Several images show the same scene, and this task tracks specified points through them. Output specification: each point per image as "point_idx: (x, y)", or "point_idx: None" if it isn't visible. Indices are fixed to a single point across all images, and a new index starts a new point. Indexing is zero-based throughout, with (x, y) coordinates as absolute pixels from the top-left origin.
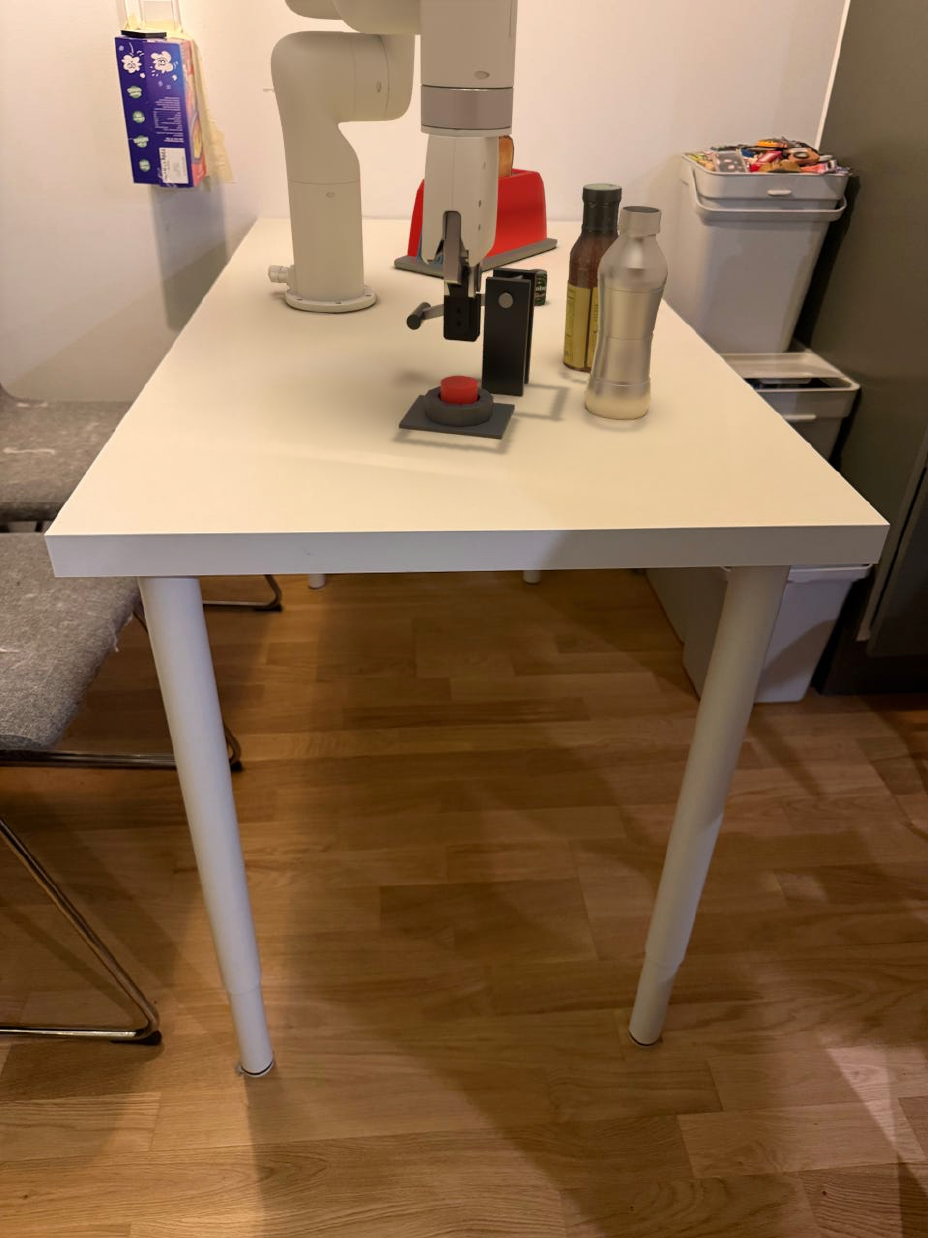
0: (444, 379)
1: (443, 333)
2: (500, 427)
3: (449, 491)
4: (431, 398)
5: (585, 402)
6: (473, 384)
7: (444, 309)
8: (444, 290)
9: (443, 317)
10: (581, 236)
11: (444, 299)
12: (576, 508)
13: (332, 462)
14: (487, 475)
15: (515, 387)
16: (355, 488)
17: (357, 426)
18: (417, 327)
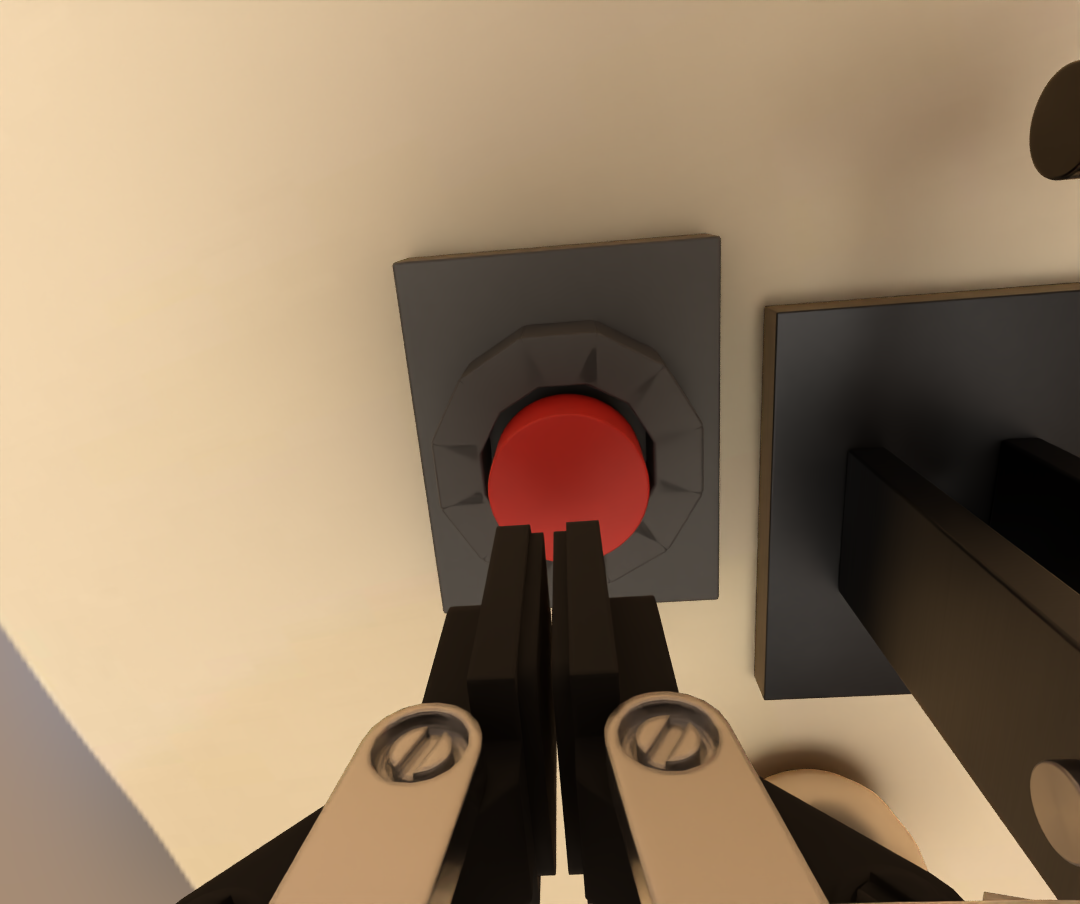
0: (575, 425)
1: (495, 534)
2: None
3: (145, 517)
4: (504, 373)
5: (802, 782)
6: None
7: (483, 617)
8: (354, 756)
9: (486, 581)
10: None
11: (474, 662)
12: (219, 795)
13: (131, 91)
14: (287, 584)
15: (852, 585)
16: (10, 254)
17: (468, 41)
18: (1036, 156)
